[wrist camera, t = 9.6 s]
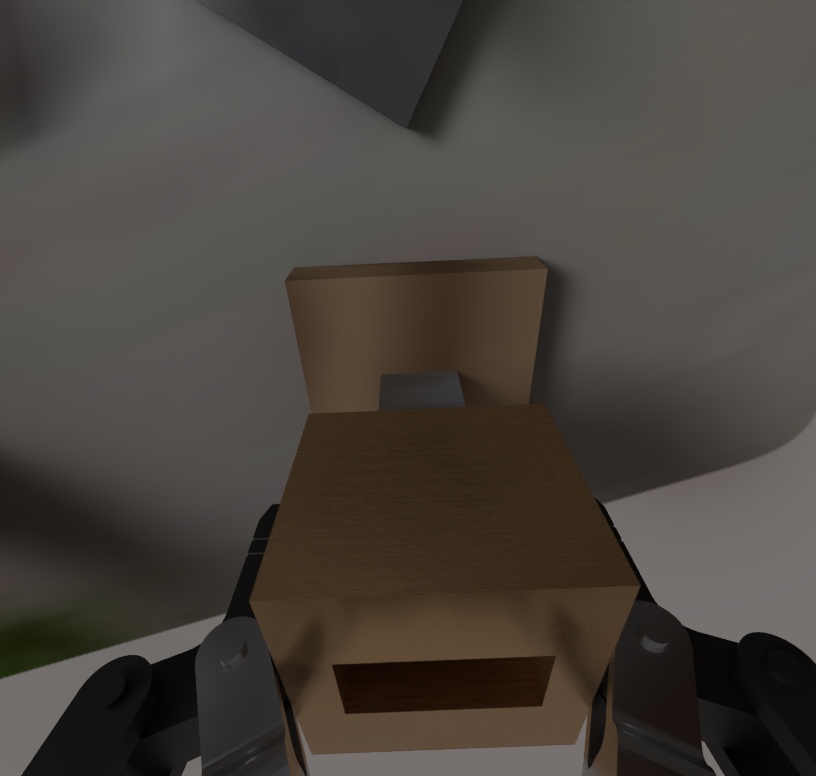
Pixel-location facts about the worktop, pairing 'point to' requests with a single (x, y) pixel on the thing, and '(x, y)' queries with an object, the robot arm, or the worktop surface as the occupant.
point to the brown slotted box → (440, 582)
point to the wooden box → (418, 333)
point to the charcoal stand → (355, 42)
